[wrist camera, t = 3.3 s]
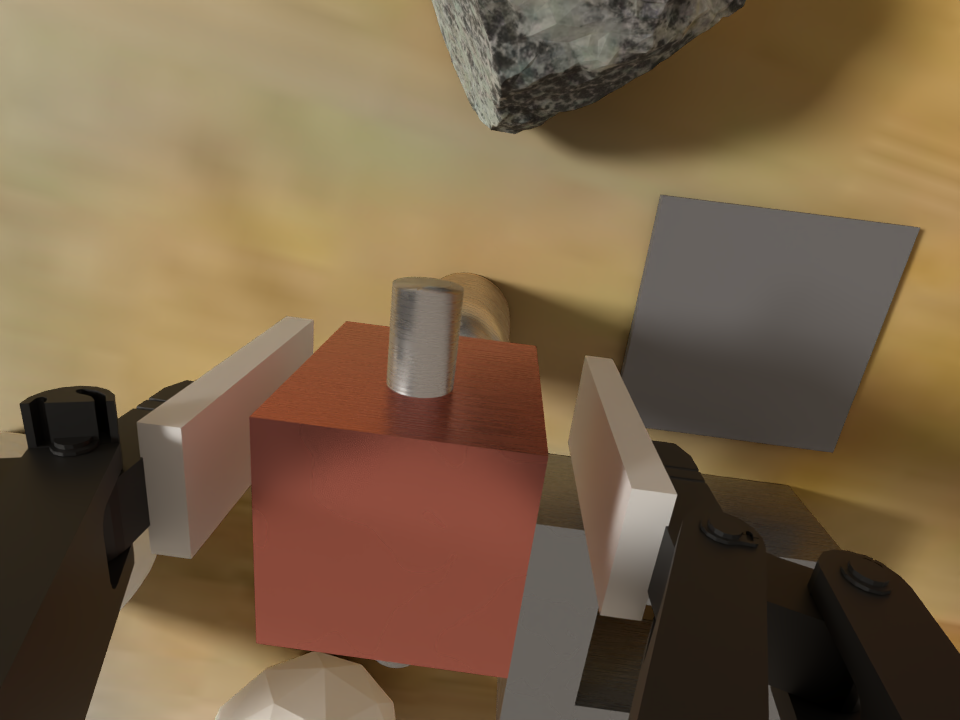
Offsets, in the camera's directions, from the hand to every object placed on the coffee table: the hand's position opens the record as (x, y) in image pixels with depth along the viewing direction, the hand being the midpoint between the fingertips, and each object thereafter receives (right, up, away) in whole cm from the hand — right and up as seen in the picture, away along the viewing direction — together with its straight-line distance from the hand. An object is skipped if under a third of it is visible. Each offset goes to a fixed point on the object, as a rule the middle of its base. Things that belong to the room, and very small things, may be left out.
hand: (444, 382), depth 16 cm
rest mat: (+11, +2, +6) cm, 13 cm away
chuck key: (0, +2, +6) cm, 7 cm away
